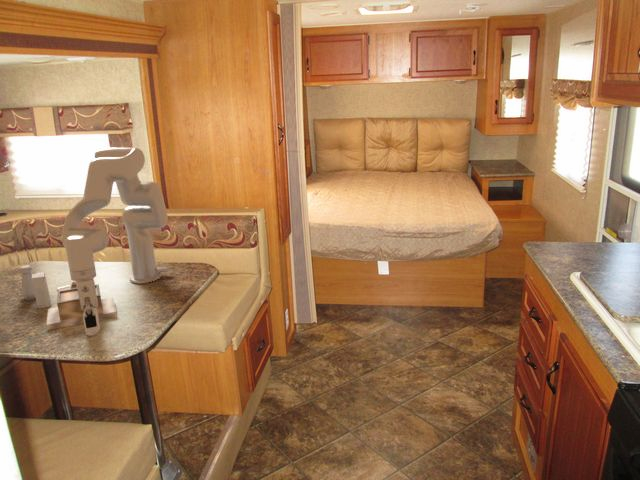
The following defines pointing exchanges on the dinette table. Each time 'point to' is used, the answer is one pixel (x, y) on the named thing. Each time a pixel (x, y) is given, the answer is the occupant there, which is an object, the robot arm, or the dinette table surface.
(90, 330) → the eye dropper bottle
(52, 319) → the display plinth
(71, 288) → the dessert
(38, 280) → the skincare box
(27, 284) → the salt shaker
